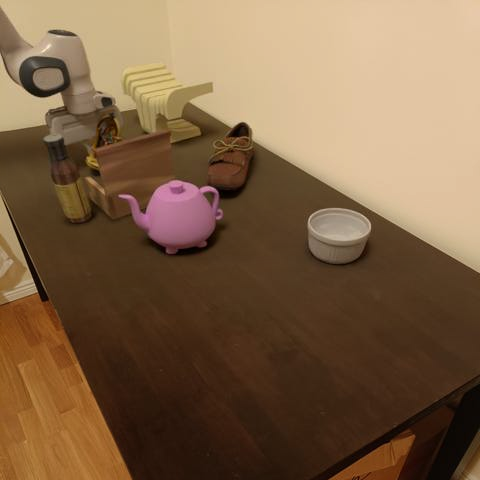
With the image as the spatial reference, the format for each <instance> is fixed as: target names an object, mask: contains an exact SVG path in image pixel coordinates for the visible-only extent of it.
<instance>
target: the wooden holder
mask: <svg viewBox="0 0 480 480" xmlns="http://www.w3.org/2000/svg"><path fill="white" fill-rule="evenodd" d="M170 136H171V131H169V130H167V129H166V130H162V131H158V132H155V133H151V134H149V133H147V134H143V135H140V136H136V137H133V138H129V139H126V140H120V141H119V142H117V143H114V144H110V145H106V146H103V147H99V148H95V149H93V152H94V154H95V155H96V159H97V163H98V167H99V171H98V172H99V174H100V179H101V182H102V186H101V185H100V184H99V183H98V182H97V181H96V180H94V179H93V177H91V176H87V177H86V176H85V177H84V179H85V183H86V188H87V190H88V194H89V197H90V198H89V199H90V200H91V201H92V202H93V203H94V204H95V205H96V206H98V208H99V209H101V211H103V212H104V213H105V214H106V215H107V216H108V217H109V218H110V219H111V220H112V221H113V220H117V219H119V218H123V217H124V216H125V217H126V216H128V215H131V214H132V211H131V207H130V205H129V203H128V202H127V201H126V200H124V199H123V198H121V197H119V196H118V195H130V196H132V197H134V198H135V199H136V201H137V203H138V206H139V209H140V211H142V210H146V209H147V207H148V204H149V202H150V200H151V198H152V196H153V194H154V192H155V191H156V189H158V188H159V187H160V186H162V185H164V184H168V183H169V182H171V181H174V180H176V176H175V168H174V167H175V166H174V159H173V150H172V143H171V141H170Z"/></svg>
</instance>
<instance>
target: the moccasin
mask: <svg viewBox="0 0 480 480" xmlns="http://www.w3.org/2000/svg"><path fill="white" fill-rule="evenodd" d="M253 135H254V134H253V129H252V128H251V127H250V125H249V124H248V123H247V122H245V121H240V122H238V123H236V124H235V125H233V127H232V128H231V129H229V131H228V132H227V133H226V134H225V136H224V137H223V138H222V139H217V140H215V141H214V142H213V145H212V146H213V148H214V149H215V150H214V151H213V152H214V154H213V155H212V156H211V157H210V158H209V160H207V161H208V162H207V165H208V166H207V169H206V175H205V178H206V183H207V186H210V187H213V188H215V189H216V190H217V191H219V190H220V191H236V190H237V189H240V188H241V187H242V186H243V184H245V183H246V178H247V174H248V170H249V164H250V160H251V159H252V158H253V156H254V141H253Z"/></svg>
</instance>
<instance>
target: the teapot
mask: <svg viewBox="0 0 480 480" xmlns="http://www.w3.org/2000/svg"><path fill="white" fill-rule="evenodd" d="M206 193H212V194H213V202H212V204H210V202H209V200H208V199H207V197H206V196H205V194H206ZM118 196H119V197H121V198H123V199H124V200H126V201H127V202H128V203H129V205H130V207H131V211H132V213H131V214H132V219H133V221H134V223H135V224H136V226H137V227H138V228H139V229H141V230H142V231H144V232H146V234H147V235H148V237H149V238H150V239H151V240H152V241H153V242H155V243H156V244H158V245H160V246H162V247H164V248H165V252H166V253H167V254H170V255H172V254H173V255H175V254H176V253H177V252H179V250H180V249H181V250H182V249H189V248H193V247H197V248H203V247H206V246H207V244H208V242H207V241H206V240H208V238H209V237H210V236H211V235H212V233H214V230H215V228H216V221H219V220H221V219H222V218H223V216H224V213H223V209H221V208H218V206H219V201H220V195H219V190H218V189H215V188H213V187H210V186H209V185H205V186H202V187H200V188H199V187H197V186H196V185H195V184H193V183H190V182H186V181H182V180H178V179H175V180H174V181H171V182H169V183H168V184H164V185H162V186H160V187H159V188H158V189H156V191H155V192H154V194H153V196H152V198H151V200H150V202H149V204H148V207H147V208H146V209H145V213H143V212H142V211H141V210H140V209H139V206H138V203H137V201H136V199H135V198H134V197H132V196H130V195H118Z"/></svg>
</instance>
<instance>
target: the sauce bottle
mask: <svg viewBox="0 0 480 480" xmlns="http://www.w3.org/2000/svg"><path fill="white" fill-rule="evenodd" d="M43 142H44V146H45V147H46V148H47V152H48V154H49V159H50V176H51V180H52V183H53V186H54V188H55V191H56V194H57V196H58V199H59V202H60V204H61V208H62V210H63V213H64V216H65V217H66V220H67V221H68V222H69V223H71V224H81V223H86V222H88V221H89V220H90V219H91V218H92V216H93V212H92V207H91V205H90V201H89V198H88V195H87V193H86V188H85V185H84V183H83V180H82V176H81V174H80V172H79V169H78V166H77V165H76V162H75V160H73V158H71V156H70V155H69V153H68V150H67V148H66V146H65V145H64V139H63V136H62V135H60V134H51V135H50V134H47V135H46V136H44V137H43Z"/></svg>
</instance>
